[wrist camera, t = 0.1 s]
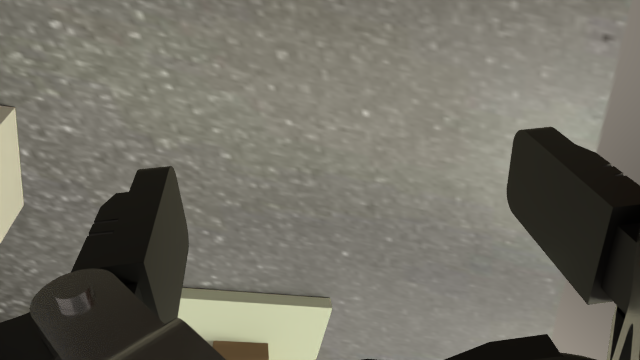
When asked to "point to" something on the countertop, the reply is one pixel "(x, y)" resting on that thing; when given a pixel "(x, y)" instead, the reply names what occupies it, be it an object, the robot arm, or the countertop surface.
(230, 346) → the block
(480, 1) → the countertop surface
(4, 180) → the cover
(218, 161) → the countertop surface
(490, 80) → the countertop surface
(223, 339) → the mat
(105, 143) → the countertop surface
